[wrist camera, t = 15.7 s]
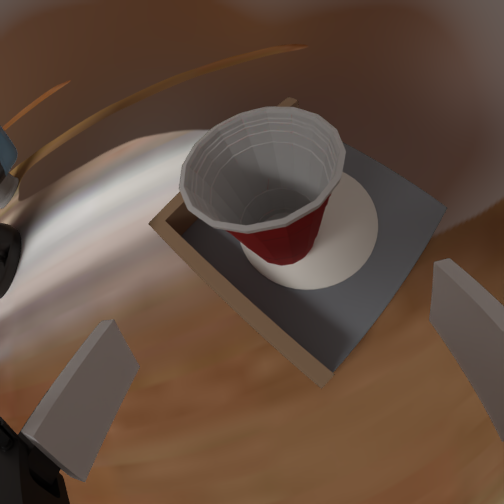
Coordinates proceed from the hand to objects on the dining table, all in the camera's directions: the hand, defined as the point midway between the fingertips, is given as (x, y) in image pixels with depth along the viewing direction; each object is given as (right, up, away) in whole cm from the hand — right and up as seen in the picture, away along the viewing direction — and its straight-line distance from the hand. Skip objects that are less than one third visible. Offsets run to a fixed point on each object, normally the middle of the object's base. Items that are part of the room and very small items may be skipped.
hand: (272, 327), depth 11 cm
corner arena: (+5, +6, +18) cm, 20 cm away
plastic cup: (+2, +4, +17) cm, 18 cm away
